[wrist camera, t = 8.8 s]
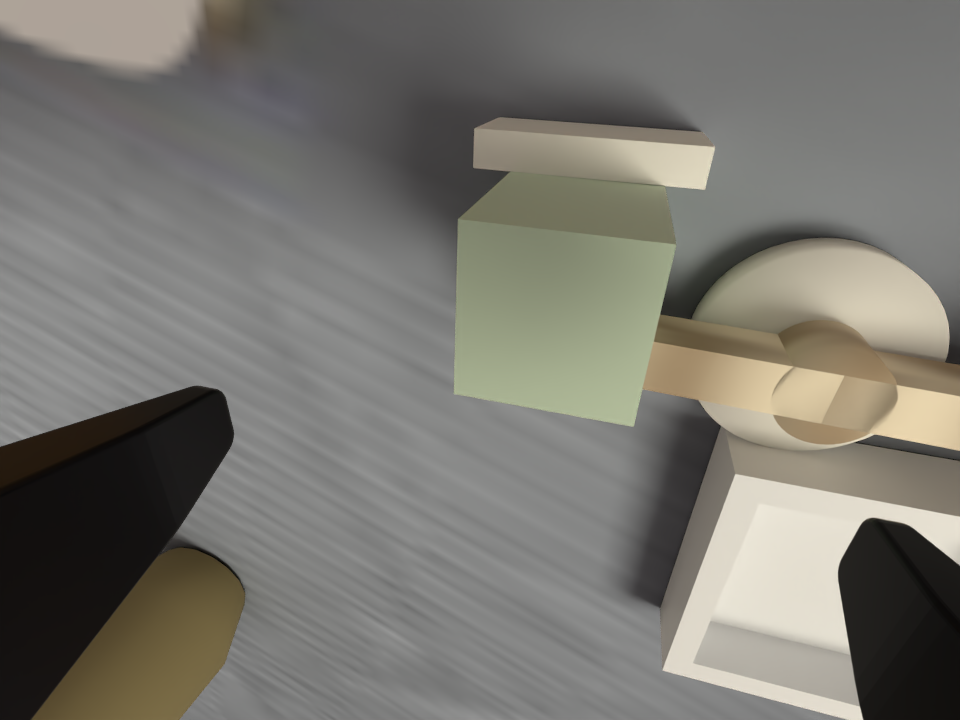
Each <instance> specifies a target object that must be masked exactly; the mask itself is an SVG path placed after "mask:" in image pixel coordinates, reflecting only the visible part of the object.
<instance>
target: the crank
mask: <svg viewBox="0 0 960 720" xmlns="http://www.w3.org/2000/svg"><path fill="white" fill-rule="evenodd" d="M643 389H644V390H650V391H655V392H660V393H665V394H670V395H675V396H681V397H686V398H691V399H696V400H701V401H706V402H711V403H717V404H722V405H727V406H732V407H737V408H742V409H747V410H753V411H758V412H763V413H768V414H773V416H774V419H775V420H776V422H777V424H778V425H779V426H780V427H781V428H782V429H783V430H784V431H785V432H786V433H788V434H789V435H791V436H793V437H795V438H797V439H799V440H802V441H805V442H809V443H814V444H824V445H830V444H841V443H846V442H850V441H853V440H857V439H859V438H862V437H864V436H866V435H868V434H870V433H871V434H876V435H881V436H887V437H892V438H897V439H902V440H907V441H912V442H917V443H923V444H928V445H933V446H938V447H943V448H948V449H953V450H959V451H960V365H957V364H951V363H945V362H939V361H933V360H927V359H921V358H915V357H910V356H904V355H898V354H892V353H886V352H880V351H874V350H873V349H872V348H871V346H870V345H869V344H868V343H867V341H866V340H865V339H864V338H863V336H862V335H861V334H860V333H859V332H858V331H856V330H855V329H853V328H852V327H850V326H848V325H846V324H843V323H840V322H836V321H829V320H813V321H807V322H802V323H799V324H796V325H793V326H791V327H789V328H787V329H785V330H783V331H781V332H780V333H779V334H773V333H767V332H761V331H755V330H749V329H744V328H738V327H732V326H726V325H720V324H714V323H708V322H702V321H696V320H690V319H684V318H678V317H672V316H666V315H661V314H660V317H659V321H658V325H657V329H656V334H655V338H654V342H653V346H652V350H651V355H650V359H649V363H648V367H647V372H646V376H645V380H644V384H643Z"/></svg>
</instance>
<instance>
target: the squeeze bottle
mask: <svg viewBox="0 0 960 720" xmlns="http://www.w3.org/2000/svg"><path fill="white" fill-rule="evenodd" d="M244 603H245V592H244V590H243V588H242V586H241V583H240V581H239V580H238V579H237V578H236V577H235V576H234V574H233V573H232V572H231V571H230V570H229V569H228V568H227V567H226V566H224V565H223V564H221V563H220V562H219V561H217V560H216V559H214V558H213V557H211V556H209V555H207V554H204V553H202V552H200V551H198V550H194V549H188V548H182V547H179V548H175V549H171V550H168V551H166V552H165V553H163V554H161V555H159V556H158V557H157V558H156V559H155V561H154V562H153V563H152V565H151V566H150V567H149V568H148V570H147V571H146V572H145V574H144V575H143V576H142V577H141V579H140V580H139V581H138V583H137V584H136V585H135V586H134V588H133V589H132V590H131V592H130V593H129V594H128V596H127V597H126V598H125V599H124V601H123V602H122V603H121V605H120V606H119V607H118V608H117V610H116V611H115V612H114V614H113V615H112V616H111V617H110V619H109V620H108V621H107V623H106V624H105V625H104V626H103V628H102V629H101V630H100V632H99V633H98V634H97V636H96V637H95V638H94V639H93V641H92V642H91V643H90V645H89V646H88V647H87V648H86V650H85V651H84V652H83V654H82V655H81V656H80V657H79V659H78V660H77V661H76V663H75V664H74V665H73V667H72V668H71V669H70V670H69V672H68V673H67V674H66V676H65V677H64V678H63V679H62V681H61V682H60V683H59V685H58V686H57V687H56V688H55V690H54V691H53V692H52V694H51V695H50V696H49V698H48V699H47V700H46V701H45V703H44V704H43V705H42V707H41V708H40V709H39V710H38V712H37V713H36V714H35V716H34V717H33V718H32V719H31V720H179V719H180V718H181V717H182V716H183V714H184V713H185V712H186V711H187V709H188V708H189V707H190V706H191V704H192V703H193V702H194V701H195V700H196V698H197V697H198V696H199V695H200V693H201V692H202V691H203V690H204V688H205V687H206V686H207V685H208V684H209V682H210V681H211V680H212V679H213V677H214V676H215V675H216V674H217V673H218V671H219V670H220V669H221V668H222V666H223V665H224V664H225V661H226V658H227V655H228V652H229V649H230V646H231V643H232V640H233V637H234V634H235V631H236V628H237V625H238V622H239V619H240V616H241V613H242V610H243V607H244Z"/></svg>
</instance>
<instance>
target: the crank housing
mask: <svg viewBox="0 0 960 720" xmlns="http://www.w3.org/2000/svg"><path fill="white" fill-rule="evenodd" d="M714 150H715V146H714V145H713V144H712V143H711V141H710V140H709V139H708V138H707V136H706V135H705V134H704V133H703V132H696V131H682V130H669V129H655V128H641V127H628V126H614V125H600V124H587V123H573V122H559V121H546V120H532V119H518V118H505V117H499V118H496V119H494V120H492V121H490V122H487V123H485V124H483V125H481V126H478V127H476V128H474V156H473V168H478V169H489V170H500V171H510V172H521V173H532V174H543V175H553V176H564V177H575V178H585V179H596V180H607V181H618V182H628V183H639V184H650V185H660V186H671V187H682V188H693V189H703V190H705V187H706V183H707V179H708V175H709V170H710V166H711V162H712V158H713V154H714ZM691 320H696V321H702V322H708V323H714V324H720V325H726V326H732V327H738V328H744V329H749V330H755V331H761V332H767V333H773V334H779V333H780V332H781V331H783V330H785V329H787V328H789V327H791V326H793V325H796V324H799V323H802V322H807V321H813V320H829V321H836V322H840V323H843V324H846V325H848V326H850V327H852V328H853V329H855V330H856V331H858V332H859V333H860V334H861V335H862V336H863V338H864V339H865V340H866V341H867V343H868V344H869V345H870V346H871V348H872V349H873V350H874V351H880V352H886V353H892V354H898V355H904V356H910V357H915V358H921V359H927V360H933V361H939V362H945V361H946V358H947V354H948V349H949V339H950V336H949V324H948V320H947V317H946V313H945V310H944V308H943V306H942V304H941V302H940V300H939V298H938V296H937V295H936V294H935V292H934V291H933V290H932V289H931V287H930V286H929V285H928V284H927V283H926V282H925V281H924V280H923V279H922V278H920V277H919V276H918V275H917V274H916V273H915V272H913V271H912V270H911V269H909V268H908V267H907V266H906V265H904V264H903V263H902V262H901V261H899V260H898V259H896V258H895V257H893V256H892V255H890V254H889V253H887V252H885V251H883V250H880V249H878V248H876V247H874V246H871V245H868V244H865V243H861V242H858V241H853V240H847V239H841V238H811V239H802V240H797V241H791V242H787V243H783V244H780V245H776V246H773V247H770V248H768V249H765V250H763V251H760V252H758V253H756V254H754V255H752V256H750V257H748V258H747V259H745V260H743V261H741V262H740V263H738V264H737V265H735V266H734V267H732V268H731V269H730V270H728V271H727V272H726V273H725V274H724V275H722V276H721V277H720V278H719V279H718V280H717V281H716V282H715V283H714V284H713V285H712V286H711V288H710V289H709V290H708V291H707V292H706V294H705V295H704V296H703V298H702V299H701V301H700V302H699V304H698V306H697V308H696V310H695V312H694V314H693V316H692V319H691ZM699 402H700V403H701V405H702V406H703V408H704V409H705V411H706V412H707V413H708V414H709V415H710V416H711V417H712V418H713V419H714V420H715V421H716V422H717V423H718V424H720V425H721V426H722V427H723V428H725V429H726V430H728V431H729V432H731V433H733V434H734V435H736V436H738V437H740V438H743V439H745V440H747V441H750V442H753V443H755V444H758V445H762V446H766V447H771V448H776V449H783V450H799V451H807V450H821V449H828V448H834V447H839V446H843V445H847V444H851V443H854V442H857V441H860V440H863V439H866V438H868V437H870V436H872V435H875V434H871V433H870V434H868V435H866V436H864V437H862V438H859V439H857V440H853V441H850V442H846V443H841V444H830V445H824V444H814V443H809V442H805V441H802V440H799V439H797V438H795V437H793V436H791V435H789V434H788V433H786V432H785V431H784V430H783V429H782V428H781V427H780V426H779V425H778V424H777V422H776V420H775V419H774V416H773V414H768V413H763V412H758V411H753V410H747V409H742V408H737V407H732V406H727V405H722V404H717V403H711V402H706V401H701V400H699Z"/></svg>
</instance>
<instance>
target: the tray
mask: <svg viewBox="0 0 960 720" xmlns="http://www.w3.org/2000/svg"><path fill="white" fill-rule="evenodd" d="M868 518H880V519H885V520H890V521H895V522H901V523H904V524H907V525H909V526H911V527H912V528H914V529H915V530H916V531H917V532H919V533H920V534H921V535H922V536H924V537H925V538H926V539H927V540H929V541H930V542H931V543H932V544H934V545H935V546H936V547H937V548H939V549H940V550H941V551H942V552H944V553H945V554H946V555H947V556H949V557H950V558H951V559H952V560H954V561H955V562H956V563H957V564H959V565H960V461H956V460H951V459H945V458H939V457H933V456H928V455H922V454H916V453H910V452H904V451H899V450H893V449H887V448H881V447H875V446H870V445H864V444H858V443H851V444H847V445H843V446H839V447H834V448H828V449H821V450H807V451H799V450H783V449H776V448H771V447H766V446H762V445H758V444H755V443H753V442H750V441H747V440H745V439H743V438H740V437H738V436H736V435H734V434H733V433H731V432H729V431H728V430H726V429H725V428H723V427H722V426H721V428H720V431H719V434H718V437H717V440H716V443H715V446H714V449H713V452H712V455H711V458H710V461H709V464H708V467H707V470H706V473H705V476H704V479H703V482H702V485H701V488H700V491H699V494H698V497H697V500H696V503H695V506H694V508H693V511H692V514H691V517H690V520H689V523H688V526H687V529H686V532H685V535H684V538H683V541H682V544H681V547H680V550H679V553H678V556H677V559H676V562H675V565H674V568H673V571H672V574H671V577H670V580H669V583H668V586H667V589H666V592H665V595H664V598H663V601H662V604H661V607H660V622H661V649H662V670H663V671H667V672H670V673H674V674H678V675H682V676H685V677H689V678H693V679H697V680H700V681H704V682H708V683H712V684H716V685H719V686H723V687H727V688H731V689H734V690H738V691H742V692H746V693H749V694H753V695H757V696H761V697H765V698H768V699H772V700H776V701H780V702H783V703H787V704H791V705H795V706H799V707H802V708H806V709H810V710H814V711H817V712H821V713H825V714H829V715H832V716H836V717H840V718H844V719H848V720H863V717H862V713H861V709H860V705H859V700H858V695H857V690H856V685H855V680H854V674H853V668H852V662H851V656H850V650H849V644H848V638H847V631H846V625H845V619H844V613H843V607H842V601H841V595H840V589H839V583H838V567H839V563H840V561H841V558H842V557H843V555H844V553H845V551H846V550H847V548H848V546H849V544H850V542H851V541H852V539H853V537H854V535H855V534H856V532H857V530H858V528H859V526H860V525H861V524H862V522H863V521H865V520H866V519H868Z"/></svg>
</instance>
